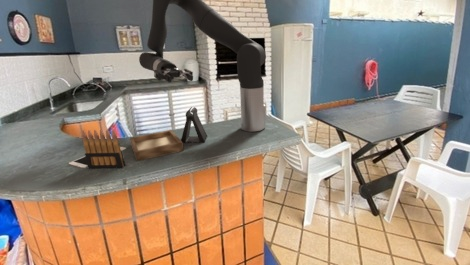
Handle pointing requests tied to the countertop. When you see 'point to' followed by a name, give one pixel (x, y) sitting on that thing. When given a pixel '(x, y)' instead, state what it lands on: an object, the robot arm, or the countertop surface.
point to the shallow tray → (155, 145)
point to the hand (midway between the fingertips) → (181, 79)
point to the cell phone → (84, 161)
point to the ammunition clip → (103, 151)
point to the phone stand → (198, 127)
